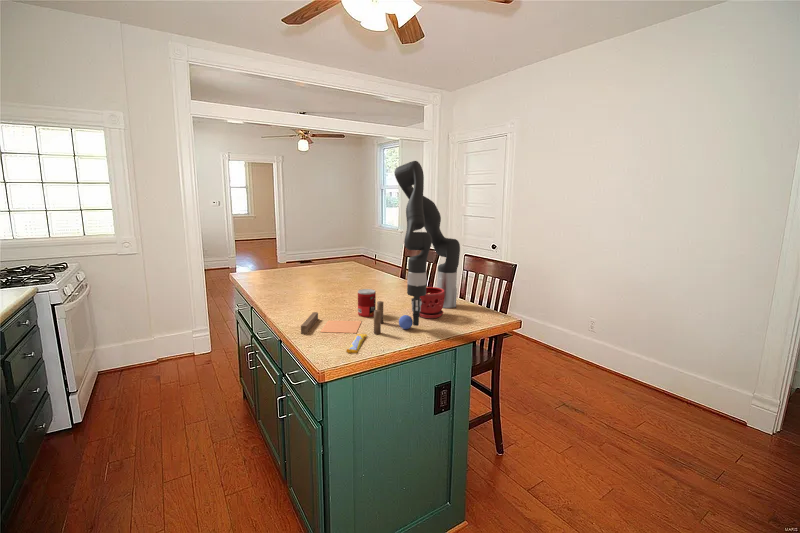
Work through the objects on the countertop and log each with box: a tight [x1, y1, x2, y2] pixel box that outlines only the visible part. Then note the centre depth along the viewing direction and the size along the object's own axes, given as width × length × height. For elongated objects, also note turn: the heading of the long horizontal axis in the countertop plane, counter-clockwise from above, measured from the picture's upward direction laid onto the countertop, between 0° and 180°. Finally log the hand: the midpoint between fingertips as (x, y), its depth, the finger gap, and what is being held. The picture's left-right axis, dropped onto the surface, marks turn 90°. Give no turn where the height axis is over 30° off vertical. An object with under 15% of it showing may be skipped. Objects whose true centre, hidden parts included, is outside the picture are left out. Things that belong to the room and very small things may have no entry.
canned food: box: [357, 288, 377, 318], centre depth 168 cm, size 8×8×11 cm
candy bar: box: [345, 333, 368, 354], centre depth 134 cm, size 17×4×2 cm, turn 173°
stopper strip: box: [300, 311, 319, 335], centre depth 153 cm, size 2×18×3 cm, turn 178°
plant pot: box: [419, 286, 445, 320], centre depth 168 cm, size 13×13×12 cm
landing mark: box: [320, 320, 362, 334], centre depth 153 cm, size 14×14×1 cm
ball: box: [398, 314, 413, 330], centre depth 151 cm, size 6×6×6 cm
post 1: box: [376, 300, 384, 325], centre depth 158 cm, size 3×3×9 cm
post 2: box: [373, 309, 382, 335], centre depth 145 cm, size 3×3×9 cm
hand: (415, 325), depth 151 cm, fingers closed
